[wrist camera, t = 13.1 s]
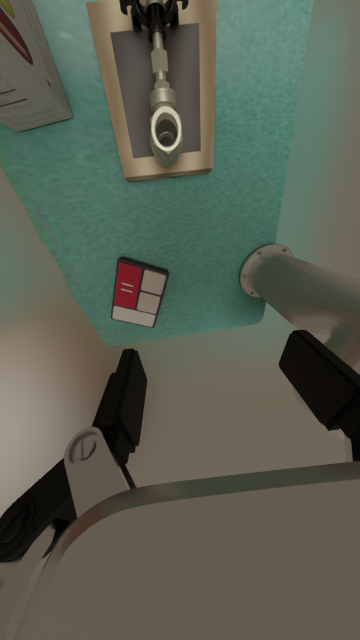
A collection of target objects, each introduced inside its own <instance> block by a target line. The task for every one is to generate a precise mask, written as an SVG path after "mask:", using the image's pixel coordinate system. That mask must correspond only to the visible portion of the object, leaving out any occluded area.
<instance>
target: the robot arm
mask: <svg viewBox="0 0 360 640" xmlns="http://www.w3.org/2000/svg"><path fill="white" fill-rule="evenodd" d="M257 253H258V254H257ZM243 274H244V275H243ZM239 281H240V285H241V287H242V289H243V290H244V291H245V292H246V293H247V294H249V295H250V296H253V297H262V298H263V299H264V300H265V301H266V302H267V303H268V304H269V305H271V306H272V307H273V308H274V309H275V310H276V311H278V312H279V313H280V314H281V315H282V316H283V317H284V318H285V319H286V320H288V321H289V322H290V323H291V324H292V325H293V326H295V327H296V328H298V329H300V330H295V331H293V332H292V333H291V334H290V335H289V338H288V340H287V343H286V346H285V348H284V351H283V353H282V356H281V359H280V361H279V367H280V369H281V370H282V372H283V373H284V374H285V375H286V377H287V378H288V380H289V381H290V383H291V384H292V385H293V393H294V395H295V398H296V400H297V401H298V403H299V404H300V406H301V407H302V408H303V409H304V410H305V412H306V413H307V414H308V415H310V416H311V417H312V418H313V419H314V420H315V421H316V422H317V423H319V424H320V425H321V426H323V427H324V428H325V429H327V430H328V431H330V432H331V433H333V434H334V435H336V436H337V437H339V438H341V439H343V440H344V441H345V452H346V463H337V464H327V465H318V466H309V467H299V468H291V469H281V470H272V471H264V472H255V473H246V474H237V475H229V476H220V477H211V478H203V479H194V480H185V481H178V482H171V483H163V484H156V485H149V486H145V487H139V488H138V486H137V484H136V482H135V480H134V478H133V476H132V474H131V472H130V470H129V468H128V467H127V464H126V463H127V462H128V457H129V453H134V452H135V446H138V445H139V441H140V433H141V426H142V418H143V410H144V402H145V394H146V386H147V378H146V375H145V372H144V369H143V366H142V363H141V360H140V357H139V354H138V351H135V350H134V349H124V350H123V352H122V355H121V358H120V361H119V364H118V367H117V370H116V372H115V373H112V374H111V376H110V377H109V380H108V383H107V386H106V388H105V391H104V394H103V397H102V399H101V402H100V405H99V408H98V411H97V413H96V416H95V419H94V422H93V425H92V427H88V428H85V429H83V430H82V431H80V432H79V433H78V434H77V435H75V436H74V437H73V439H72V440H71V441H70V443H69V444H68V446H67V449H66V451H65V454H64V458H63V459H62V460H61V461H60V462H58V463H57V464H56V465H55V466H54V467H53V468H52V469H51V470H50V471H49V472H47V473H46V474H45V475H44V476H43V477H42V478H41V479H39V480H38V481H37V482H36V483H35V484H34V485H33V486H32V487H31V488H30V489H28V490H27V491H26V492H25V493H24V494H23V495H22V496H21V497H19V498H18V499H17V500H16V501H15V502H14V503H13V504H12V505H11V506H10V507H9V508H8V509H7V510H6V511H5V512H4V514H3V515H2V516H1V518H0V640H4V634H5V629H6V626H7V623H8V620H9V617H10V614H11V613H12V611H13V609H14V607H15V605H16V603H17V601H18V599H19V598H20V596H21V594H22V593H23V592H24V590H25V588H26V587H27V585H28V584H29V583H28V582H27V580H28V579H29V577H30V576H31V574H32V573H33V571H34V570H35V568H36V566H37V565H38V563H39V562H40V560H41V559H42V558H44V557H46V556H47V555H48V554H49V552H51V553H50V555H49V557H48V559H47V561H46V563H45V565H44V567H43V569H42V572H41V574H40V576H39V578H38V581H37V583H36V585H35V587H34V590H33V592H32V595H31V597H30V600H29V602H28V604H27V607H26V609H25V612H24V615H23V617H22V620H21V622H20V625H19V627H18V630H17V633H16V635H15V638H14V640H360V280H359V279H356V278H352V277H349V276H346V275H343V274H341V273H338V272H334V271H331V270H328V269H325V268H323V267H320V266H317V265H314V264H311V263H308V262H305V261H302V260H299V259H296V258H294V256H293V253H292V252H291V250H290V249H289V248H287V247H286V246H284V245H281V244H275V243H273V244H267V245H264V246H262V247H260V248H258V249H256V250H255V251H254V252H252V253H251V254H250V255H249V256H248V257H247V259H246V260H245V261H244V263H243V265H242V267H241V270H240V275H239ZM311 333H316V334H317V333H318V334H330V336H329V338H328V339H327V341H326V342H325V343H324V344H322V343H321V342H320V341H319V340H318V339H316V338H315V337H314V336H313V335H312V334H311Z"/></svg>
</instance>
